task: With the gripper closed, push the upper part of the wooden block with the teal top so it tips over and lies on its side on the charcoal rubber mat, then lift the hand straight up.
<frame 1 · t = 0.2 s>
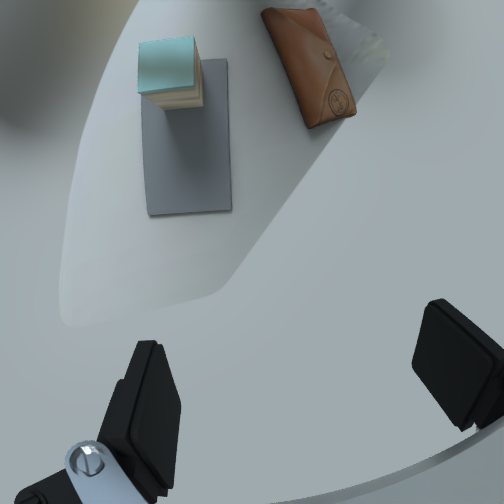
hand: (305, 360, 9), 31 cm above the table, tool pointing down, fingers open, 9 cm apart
sunglasses case: (309, 63, 34), on the table
charcoal mat: (184, 135, 35), on the table
wooden block: (183, 89, 32), point 1 cm above the table, touching charcoal mat
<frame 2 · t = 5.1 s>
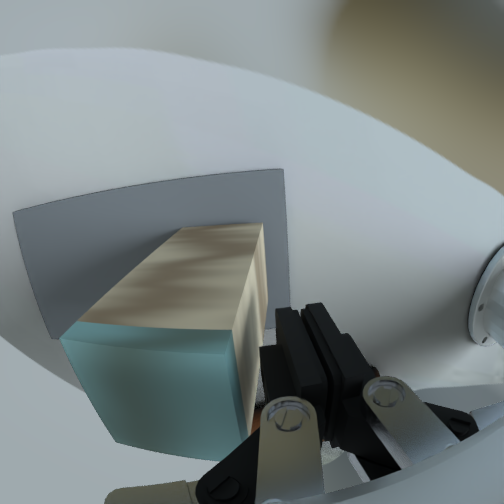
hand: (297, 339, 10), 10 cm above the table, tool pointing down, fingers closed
charcoal mat: (140, 266, 19), on the table
wooden block: (225, 263, 19), point 1 cm above the table, tilted 10°, touching charcoal mat, gripper
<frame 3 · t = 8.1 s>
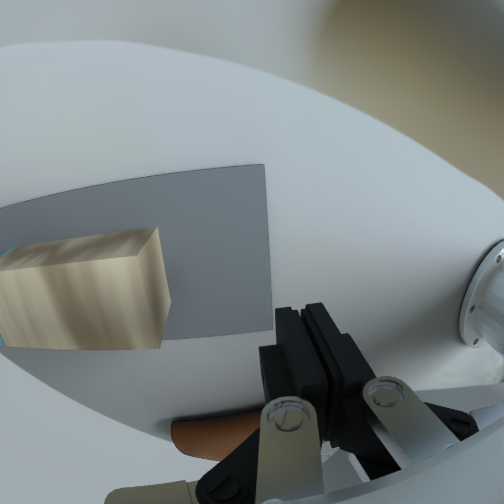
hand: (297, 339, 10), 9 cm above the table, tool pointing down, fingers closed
sunglasses case: (273, 420, 26), on the table
charcoal mat: (116, 267, 18), on the table
wooden block: (157, 283, 15), point 3 cm above the table, tilted 90°, touching charcoal mat
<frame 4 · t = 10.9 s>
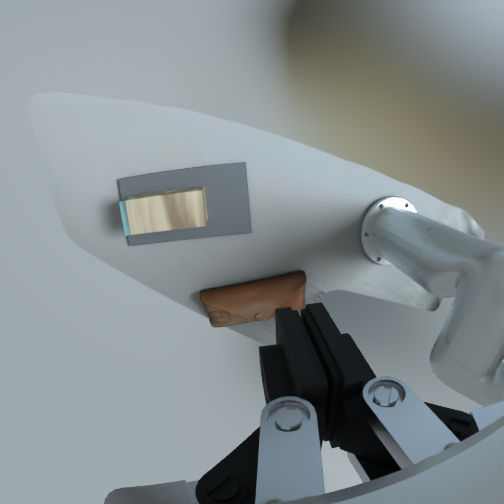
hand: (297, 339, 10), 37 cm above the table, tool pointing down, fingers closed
sunglasses case: (255, 298, 52), on the table
charcoal mat: (184, 204, 45), on the table
wooden block: (204, 205, 42), point 3 cm above the table, tilted 90°, touching charcoal mat
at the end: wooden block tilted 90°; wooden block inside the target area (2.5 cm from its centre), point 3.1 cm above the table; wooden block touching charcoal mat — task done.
